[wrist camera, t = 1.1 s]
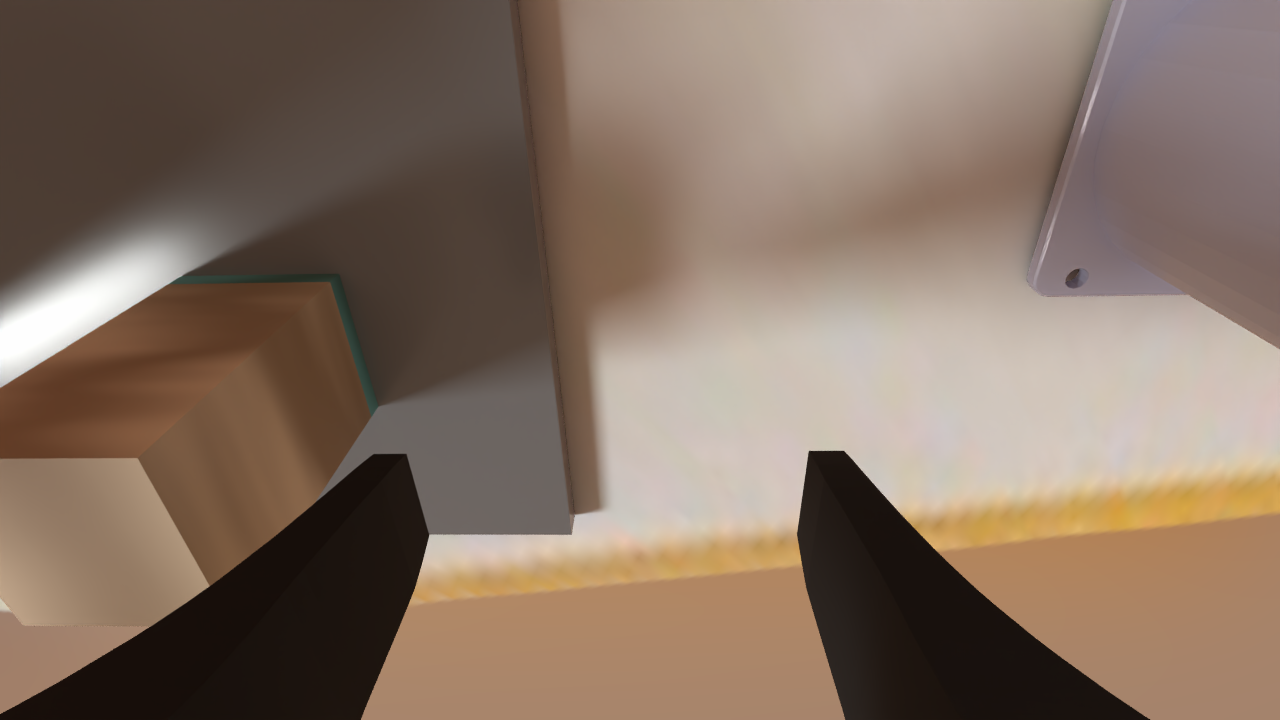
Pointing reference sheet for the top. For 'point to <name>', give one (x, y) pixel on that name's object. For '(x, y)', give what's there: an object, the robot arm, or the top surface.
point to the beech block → (174, 444)
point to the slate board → (303, 208)
